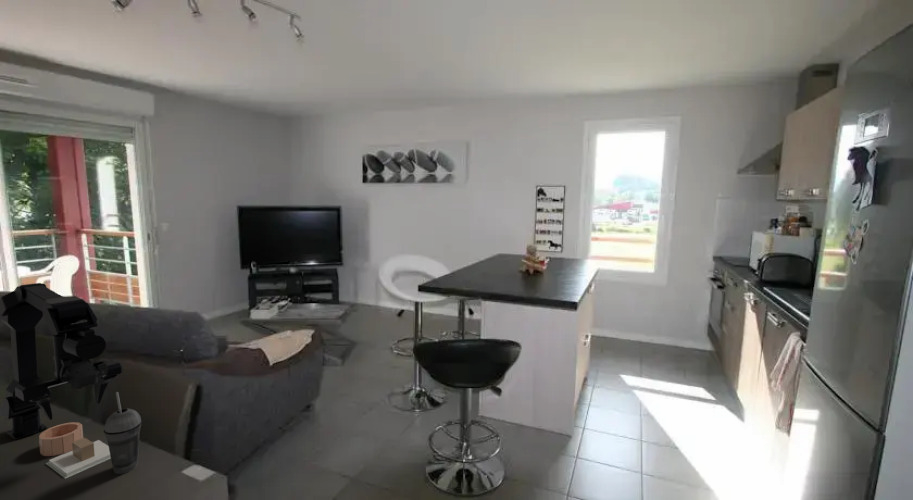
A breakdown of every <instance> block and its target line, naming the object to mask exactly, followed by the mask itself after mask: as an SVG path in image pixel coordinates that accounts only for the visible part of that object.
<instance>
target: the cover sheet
mask: <svg viewBox="0 0 913 500" xmlns="http://www.w3.org/2000/svg"><path fill="white" fill-rule="evenodd" d="M72 449H73V450H71V451H69V452H66V453H63V454H59V455H57V456H56V457H53V458H51V459H49V460H48V462H49V463H50V464H51V465H52V466H54V467H55V468H56V469H58V470H59V471H60V472H62V473H63V474H64V475H66V476H69V475H72V474H74V473H76V472H79V471H81V470H83V469H85V468H88V467H90V466H92V465H94V464H97V463H99V462H101V461H103V460H106V459H108V458H110V457H111V456H110V451H109V446H108V444H107V443H104V442H103V441H101V440H100V439H97V440H95V441H91V440H89V439H88V438H87V437H84V436H83V438H82V439H79V440H77V441H74V442H72ZM108 460H109V459H108ZM106 461H107V460H106ZM99 464H100V463H99ZM97 465H98V464H97ZM90 468H91V467H90ZM88 469H89V468H88ZM81 472H82V471H81ZM79 473H80V472H79ZM72 476H73V475H72Z"/></svg>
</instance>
